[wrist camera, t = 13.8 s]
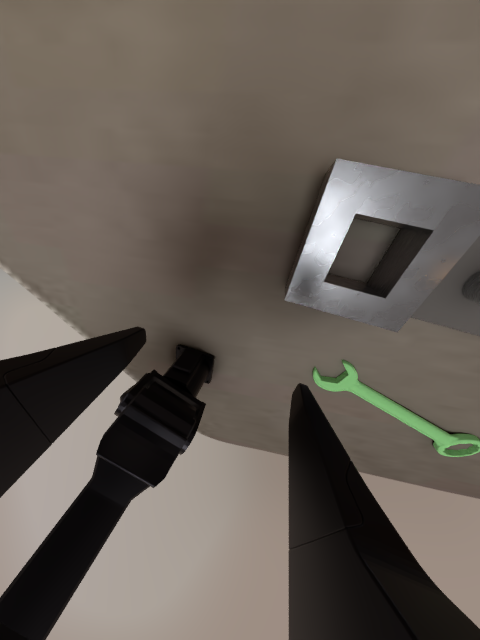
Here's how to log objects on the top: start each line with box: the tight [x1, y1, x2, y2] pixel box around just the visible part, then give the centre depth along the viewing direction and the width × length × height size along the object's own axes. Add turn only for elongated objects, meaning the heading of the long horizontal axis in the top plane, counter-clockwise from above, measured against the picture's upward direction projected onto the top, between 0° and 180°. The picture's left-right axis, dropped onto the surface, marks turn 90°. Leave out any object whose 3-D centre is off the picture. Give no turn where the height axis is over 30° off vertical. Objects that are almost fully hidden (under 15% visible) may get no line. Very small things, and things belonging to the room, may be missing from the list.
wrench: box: [313, 360, 480, 457], centre depth 24 cm, size 25×2×5 cm
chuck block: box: [285, 159, 480, 332], centre depth 15 cm, size 10×10×4 cm
